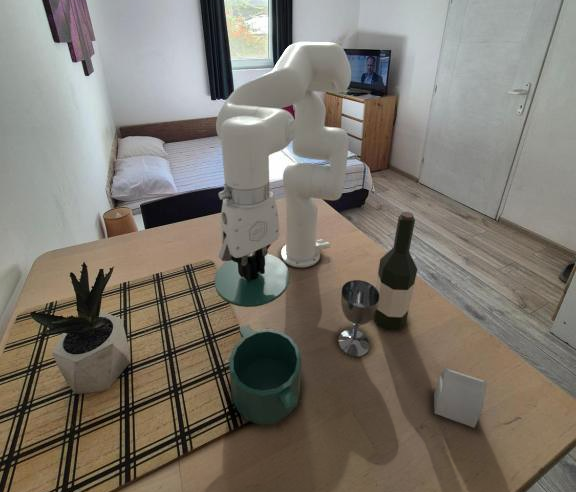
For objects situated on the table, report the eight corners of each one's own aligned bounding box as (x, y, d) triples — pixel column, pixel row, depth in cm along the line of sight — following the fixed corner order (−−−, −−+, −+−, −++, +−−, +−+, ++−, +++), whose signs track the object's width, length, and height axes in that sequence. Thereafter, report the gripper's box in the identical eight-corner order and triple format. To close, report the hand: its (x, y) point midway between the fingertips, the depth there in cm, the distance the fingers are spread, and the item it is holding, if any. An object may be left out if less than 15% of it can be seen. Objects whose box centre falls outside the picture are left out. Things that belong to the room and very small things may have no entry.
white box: (474, 427, 59) (488, 392, 55) (434, 413, 61) (445, 378, 57) (472, 407, 62) (485, 373, 58) (434, 394, 64) (444, 360, 60)
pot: (271, 337, 76) (271, 310, 73) (321, 410, 62) (324, 381, 58) (216, 367, 70) (213, 338, 66) (258, 456, 55) (256, 426, 51)
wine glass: (373, 333, 78) (381, 284, 71) (369, 362, 71) (377, 311, 65) (340, 324, 80) (345, 276, 74) (333, 351, 73) (338, 301, 67)
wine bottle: (407, 310, 84) (429, 210, 72) (403, 335, 77) (426, 228, 65) (375, 300, 87) (390, 202, 75) (368, 323, 80) (384, 219, 68)
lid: (266, 248, 73) (265, 223, 70) (304, 288, 62) (305, 260, 59) (203, 273, 66) (200, 246, 63) (234, 322, 55) (231, 292, 52)
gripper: (215, 214, 48) (224, 305, 56) (297, 184, 58) (296, 266, 65) (194, 195, 54) (205, 281, 61) (272, 171, 63) (274, 248, 71)
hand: (252, 272), depth 63 cm, fingers closed on lid, 2 cm apart
